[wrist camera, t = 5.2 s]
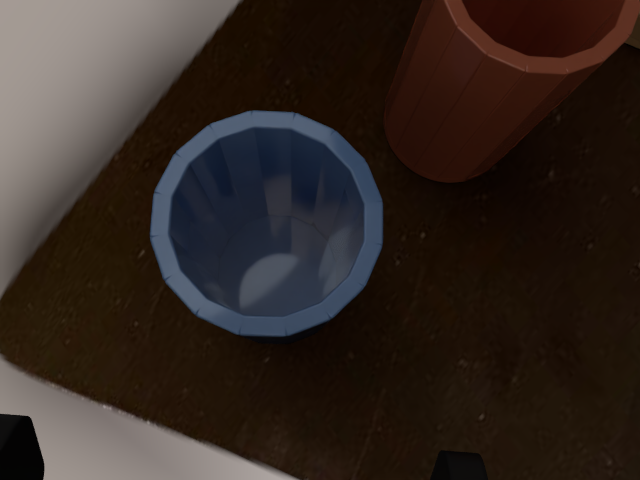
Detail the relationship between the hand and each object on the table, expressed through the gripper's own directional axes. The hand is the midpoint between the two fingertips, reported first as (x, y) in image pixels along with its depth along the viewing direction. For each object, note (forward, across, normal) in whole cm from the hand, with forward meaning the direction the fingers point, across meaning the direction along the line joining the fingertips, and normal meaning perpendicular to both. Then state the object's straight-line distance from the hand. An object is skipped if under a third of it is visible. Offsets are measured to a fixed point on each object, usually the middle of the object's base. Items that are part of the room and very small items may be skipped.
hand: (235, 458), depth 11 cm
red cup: (+18, -7, -1) cm, 19 cm away
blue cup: (+12, 0, +4) cm, 13 cm away
